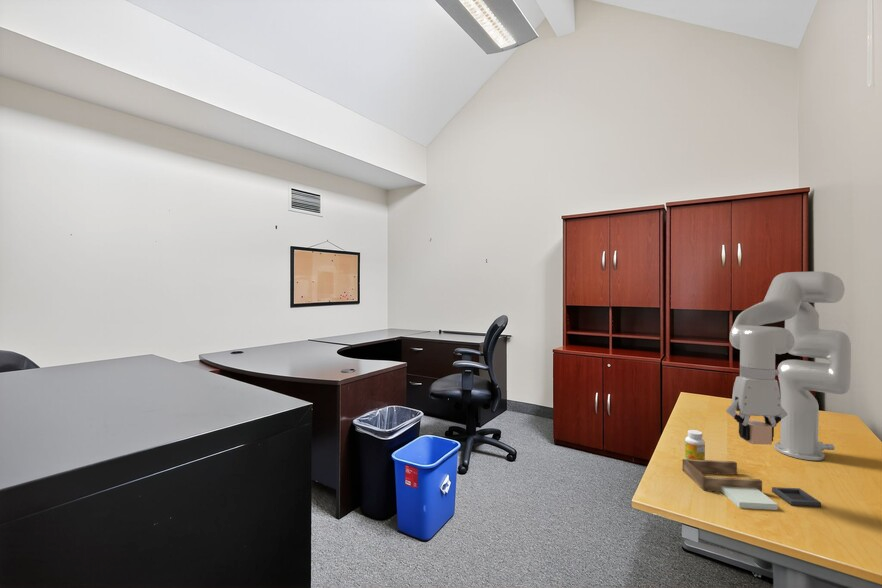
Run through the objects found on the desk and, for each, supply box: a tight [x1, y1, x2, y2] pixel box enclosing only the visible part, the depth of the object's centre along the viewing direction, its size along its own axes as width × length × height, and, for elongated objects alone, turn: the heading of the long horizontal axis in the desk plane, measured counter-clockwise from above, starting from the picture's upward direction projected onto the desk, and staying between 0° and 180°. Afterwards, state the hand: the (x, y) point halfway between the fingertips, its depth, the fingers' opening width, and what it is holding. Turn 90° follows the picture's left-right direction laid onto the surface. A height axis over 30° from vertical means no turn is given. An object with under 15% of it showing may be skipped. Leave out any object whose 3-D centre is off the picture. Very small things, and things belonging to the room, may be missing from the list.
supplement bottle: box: [684, 429, 706, 460], centre depth 127 cm, size 5×5×10 cm
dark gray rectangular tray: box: [771, 486, 822, 508], centre depth 105 cm, size 7×7×1 cm
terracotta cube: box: [738, 419, 773, 446], centre depth 108 cm, size 5×5×5 cm
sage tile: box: [721, 486, 778, 511], centre depth 104 cm, size 9×8×2 cm
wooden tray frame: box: [682, 458, 763, 493], centre depth 115 cm, size 15×12×4 cm
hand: (756, 438), depth 107 cm, fingers closed on terracotta cube, 5 cm apart
